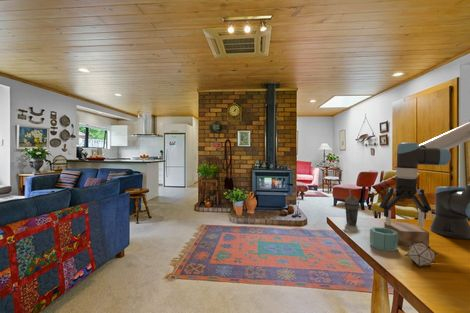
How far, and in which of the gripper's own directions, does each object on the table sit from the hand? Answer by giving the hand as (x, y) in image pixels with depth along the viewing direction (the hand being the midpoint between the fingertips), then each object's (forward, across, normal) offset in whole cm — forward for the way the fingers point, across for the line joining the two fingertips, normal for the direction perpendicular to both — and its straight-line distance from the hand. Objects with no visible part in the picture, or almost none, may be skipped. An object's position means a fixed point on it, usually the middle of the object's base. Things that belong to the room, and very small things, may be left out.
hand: (404, 225), depth 104 cm
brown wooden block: (+7, -1, 0) cm, 7 cm away
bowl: (+7, +13, +9) cm, 17 cm away
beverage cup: (+8, +14, -21) cm, 26 cm away
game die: (+7, +8, +24) cm, 26 cm away
